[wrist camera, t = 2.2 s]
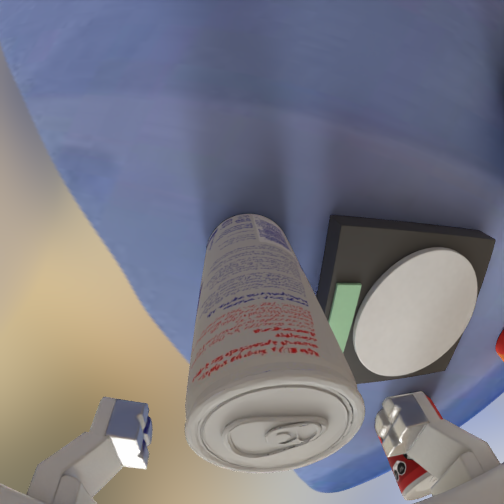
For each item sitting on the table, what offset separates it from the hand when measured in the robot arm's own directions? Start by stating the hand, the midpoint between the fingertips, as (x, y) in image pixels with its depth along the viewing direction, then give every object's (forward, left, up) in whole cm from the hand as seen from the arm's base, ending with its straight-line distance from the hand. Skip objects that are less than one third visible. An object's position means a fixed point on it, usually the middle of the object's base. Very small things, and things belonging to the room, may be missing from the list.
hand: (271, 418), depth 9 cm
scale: (+4, +13, -14) cm, 19 cm away
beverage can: (0, 0, -14) cm, 14 cm away
